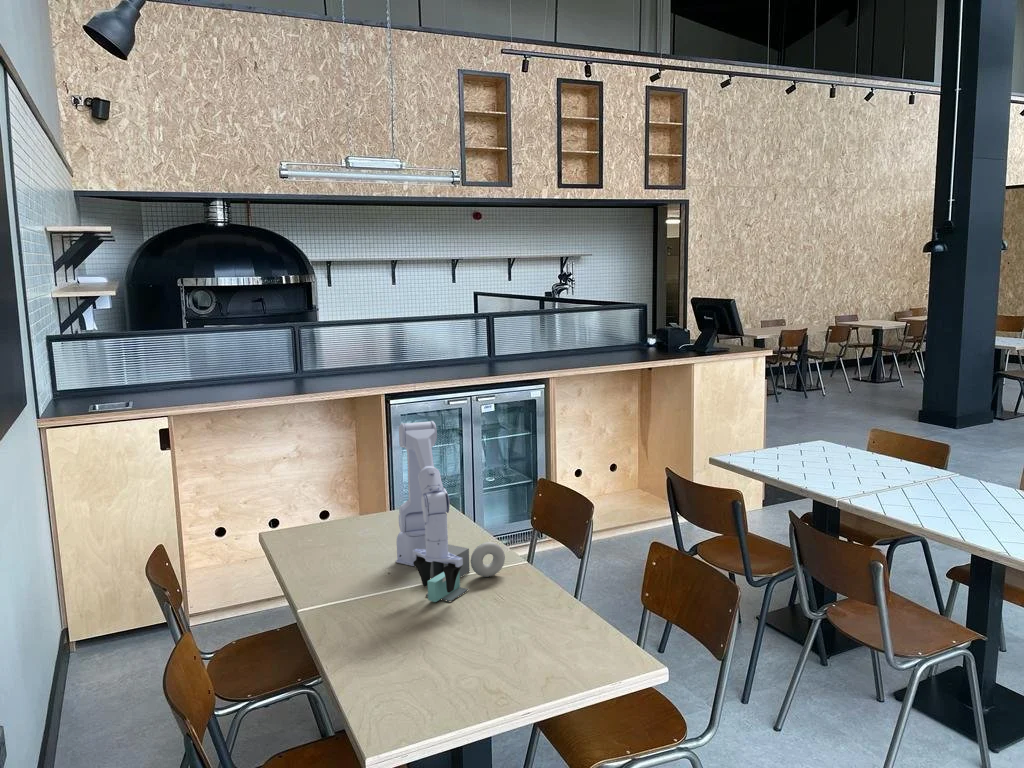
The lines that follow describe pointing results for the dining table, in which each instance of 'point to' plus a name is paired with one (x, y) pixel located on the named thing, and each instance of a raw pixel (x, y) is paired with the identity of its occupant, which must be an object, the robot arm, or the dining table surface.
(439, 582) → the tall teal prism
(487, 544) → the donut
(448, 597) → the coaster
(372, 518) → the dining table surface
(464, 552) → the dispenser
